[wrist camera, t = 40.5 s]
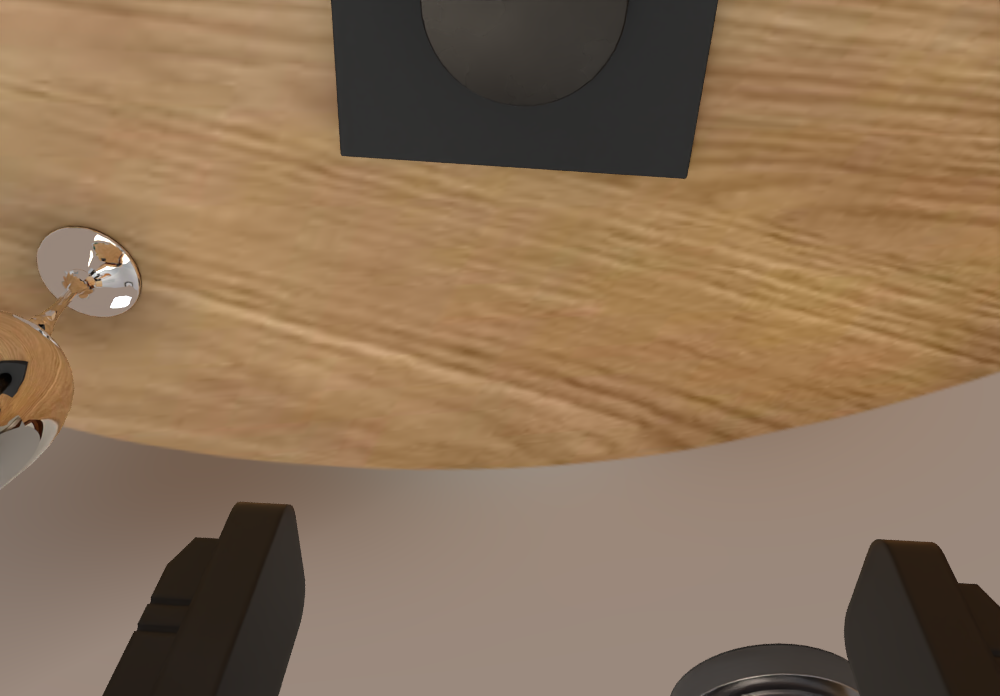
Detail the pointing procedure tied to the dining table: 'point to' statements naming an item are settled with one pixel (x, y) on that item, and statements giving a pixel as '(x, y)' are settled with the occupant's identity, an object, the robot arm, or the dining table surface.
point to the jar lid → (524, 44)
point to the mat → (523, 129)
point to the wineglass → (36, 355)
